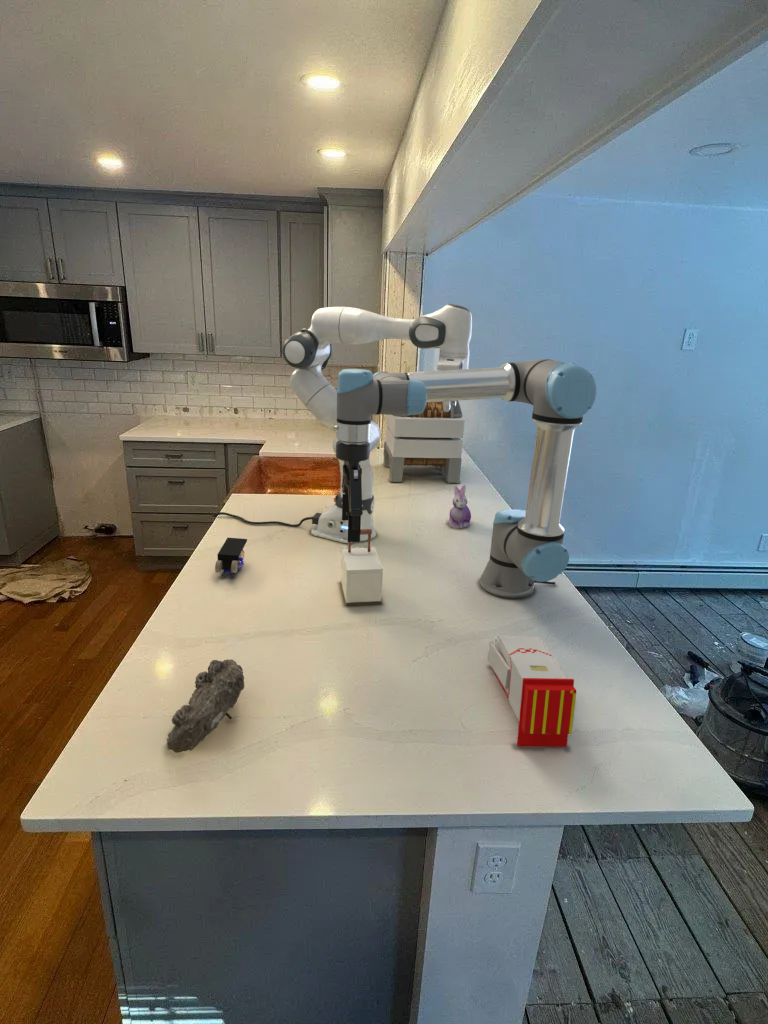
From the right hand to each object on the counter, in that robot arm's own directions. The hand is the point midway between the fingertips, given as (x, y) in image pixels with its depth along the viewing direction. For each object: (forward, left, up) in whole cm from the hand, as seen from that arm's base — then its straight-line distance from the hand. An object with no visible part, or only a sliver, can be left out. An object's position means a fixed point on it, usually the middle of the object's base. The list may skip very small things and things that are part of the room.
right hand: (350, 530), depth 133 cm
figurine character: (+30, -34, -26) cm, 52 cm away
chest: (-5, -16, -26) cm, 31 cm away
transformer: (-50, -135, -26) cm, 146 cm away
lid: (-5, -17, -16) cm, 24 cm away
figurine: (-49, -66, -26) cm, 86 cm away
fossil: (+30, +30, -26) cm, 49 cm away
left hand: (-35, -45, +21) cm, 61 cm away
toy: (-32, +33, -26) cm, 53 cm away
